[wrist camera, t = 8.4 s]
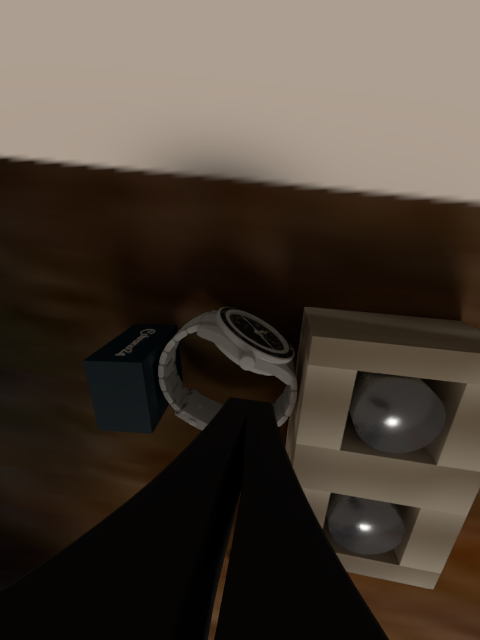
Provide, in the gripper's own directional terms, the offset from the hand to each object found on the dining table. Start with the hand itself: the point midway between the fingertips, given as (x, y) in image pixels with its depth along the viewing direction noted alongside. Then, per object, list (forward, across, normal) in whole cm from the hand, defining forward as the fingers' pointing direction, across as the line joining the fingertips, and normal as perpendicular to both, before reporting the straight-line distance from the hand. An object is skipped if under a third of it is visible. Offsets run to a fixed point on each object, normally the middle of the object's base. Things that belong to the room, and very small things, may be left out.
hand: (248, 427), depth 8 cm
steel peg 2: (+10, -7, +10) cm, 16 cm away
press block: (+10, -7, +6) cm, 13 cm away
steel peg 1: (+10, -7, +2) cm, 12 cm away
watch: (+7, +9, +3) cm, 12 cm away
